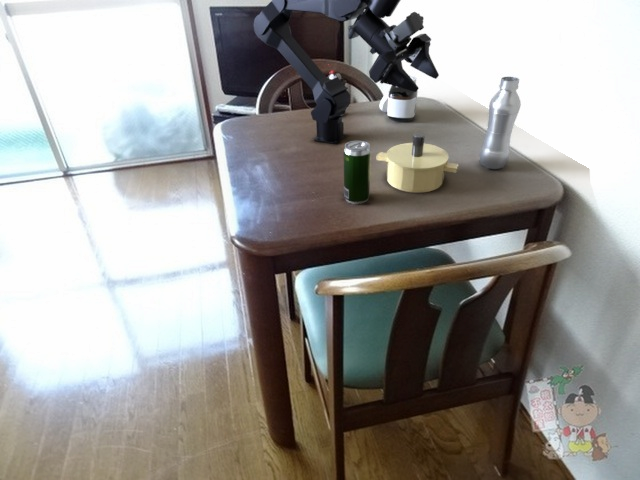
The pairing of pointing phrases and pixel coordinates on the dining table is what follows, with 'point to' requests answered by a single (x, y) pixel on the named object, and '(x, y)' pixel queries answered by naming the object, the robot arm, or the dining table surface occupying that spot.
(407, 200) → the dining table surface
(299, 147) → the dining table surface
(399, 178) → the pot
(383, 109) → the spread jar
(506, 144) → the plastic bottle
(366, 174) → the beer can
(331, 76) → the sundae
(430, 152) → the pot lid
